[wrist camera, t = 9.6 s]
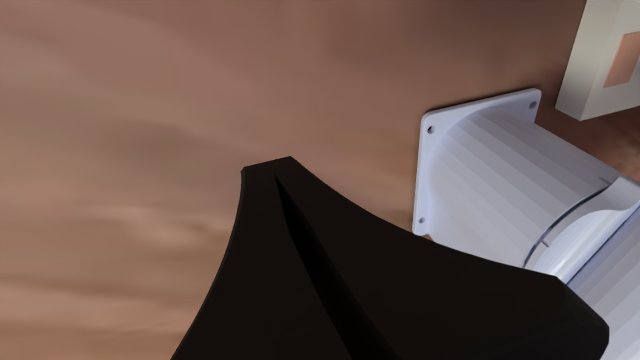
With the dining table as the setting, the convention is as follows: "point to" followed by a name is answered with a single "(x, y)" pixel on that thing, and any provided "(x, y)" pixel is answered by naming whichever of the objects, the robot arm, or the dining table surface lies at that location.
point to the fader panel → (603, 61)
